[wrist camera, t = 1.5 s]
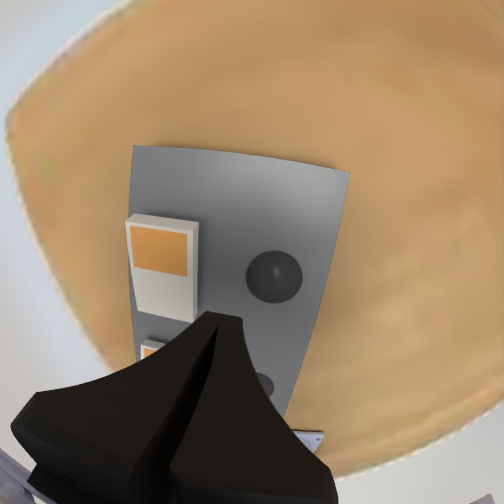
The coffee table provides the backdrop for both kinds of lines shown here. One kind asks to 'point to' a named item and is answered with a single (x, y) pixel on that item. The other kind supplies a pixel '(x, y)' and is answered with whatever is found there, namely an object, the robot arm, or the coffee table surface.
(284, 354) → the grey switch panel
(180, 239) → the rocker
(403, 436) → the coffee table surface
